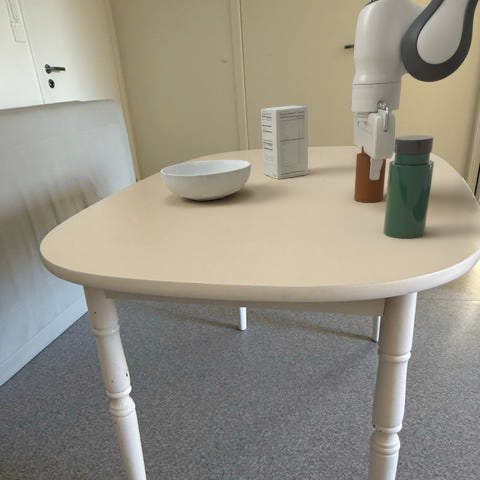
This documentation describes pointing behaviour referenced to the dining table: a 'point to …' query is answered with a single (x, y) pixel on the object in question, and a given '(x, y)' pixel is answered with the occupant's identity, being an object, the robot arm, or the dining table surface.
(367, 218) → the dining table surface
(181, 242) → the dining table surface
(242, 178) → the serving bowl
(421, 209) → the green bottle
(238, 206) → the dining table surface
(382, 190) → the amber bottle
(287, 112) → the supplement box
